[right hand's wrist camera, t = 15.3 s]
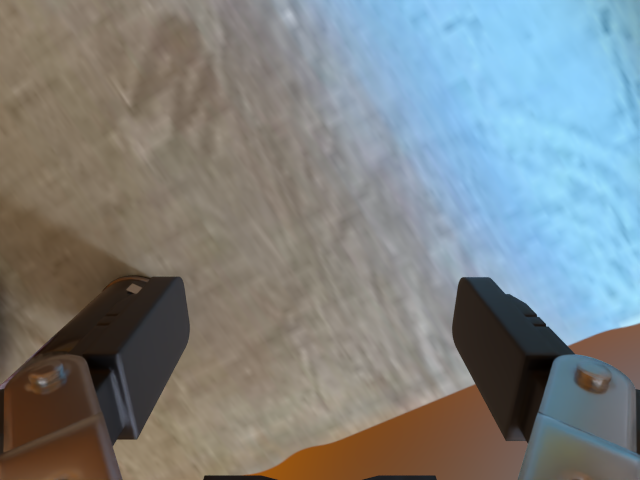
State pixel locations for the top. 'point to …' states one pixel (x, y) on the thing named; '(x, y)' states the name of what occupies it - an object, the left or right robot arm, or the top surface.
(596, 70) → the top surface
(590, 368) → the right robot arm
